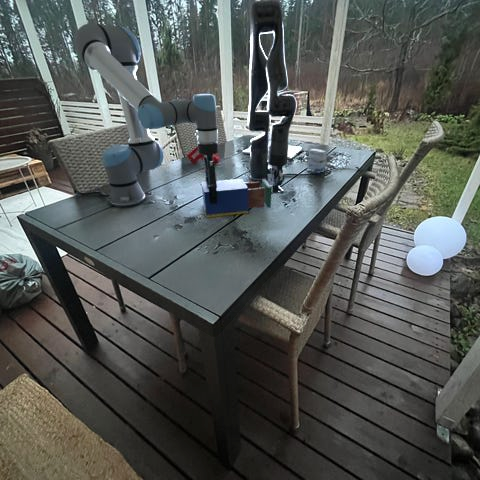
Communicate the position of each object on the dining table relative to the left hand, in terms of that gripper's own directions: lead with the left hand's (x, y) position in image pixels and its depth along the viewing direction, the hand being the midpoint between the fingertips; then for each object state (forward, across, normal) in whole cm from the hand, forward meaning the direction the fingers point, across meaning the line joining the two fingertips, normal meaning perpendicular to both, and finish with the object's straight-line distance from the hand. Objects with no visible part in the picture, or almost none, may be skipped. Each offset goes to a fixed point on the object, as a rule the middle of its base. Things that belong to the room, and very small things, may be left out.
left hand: (211, 197), depth 111 cm
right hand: (+1, 0, +27) cm, 27 cm away
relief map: (+7, -85, +54) cm, 101 cm away
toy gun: (+6, -68, +3) cm, 68 cm away
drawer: (+5, 0, +19) cm, 20 cm away
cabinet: (+6, 0, +5) cm, 8 cm away
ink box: (+7, -38, +64) cm, 75 cm away
